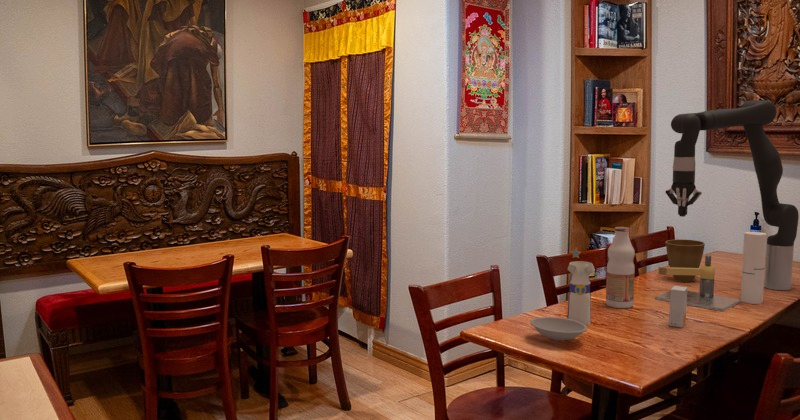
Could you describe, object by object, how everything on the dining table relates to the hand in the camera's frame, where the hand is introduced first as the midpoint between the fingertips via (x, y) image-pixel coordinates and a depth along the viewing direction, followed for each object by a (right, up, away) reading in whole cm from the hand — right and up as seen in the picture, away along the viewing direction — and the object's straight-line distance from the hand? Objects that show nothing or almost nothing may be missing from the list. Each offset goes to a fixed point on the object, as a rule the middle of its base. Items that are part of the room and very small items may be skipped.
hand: (682, 216), depth 252 cm
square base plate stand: (+4, -31, -2) cm, 31 cm away
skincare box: (-15, -35, -32) cm, 49 cm away
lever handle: (+2, -23, +1) cm, 23 cm away
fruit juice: (-26, -32, -8) cm, 42 cm away
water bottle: (-45, -34, -28) cm, 63 cm away
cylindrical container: (+24, -31, -4) cm, 39 cm away
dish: (-57, -37, -47) cm, 83 cm away
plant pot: (+13, -27, +31) cm, 43 cm away
